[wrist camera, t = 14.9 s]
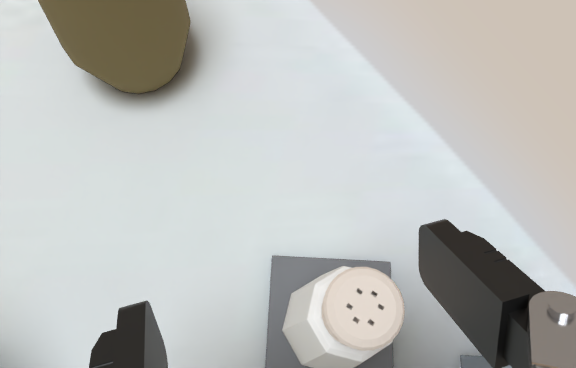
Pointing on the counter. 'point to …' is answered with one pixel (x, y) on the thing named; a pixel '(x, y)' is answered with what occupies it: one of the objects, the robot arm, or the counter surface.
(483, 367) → the gray cube
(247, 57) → the counter surface
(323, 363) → the pepper shaker
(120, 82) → the squeeze bottle
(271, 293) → the pad
